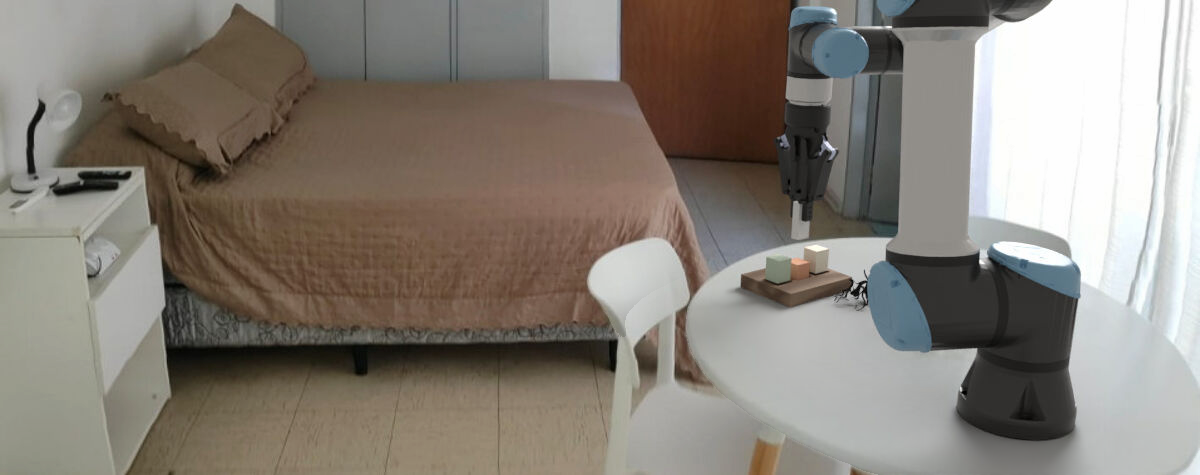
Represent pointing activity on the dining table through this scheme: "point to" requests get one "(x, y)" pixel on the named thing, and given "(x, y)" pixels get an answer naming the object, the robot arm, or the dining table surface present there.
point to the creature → (856, 291)
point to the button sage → (778, 268)
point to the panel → (796, 286)
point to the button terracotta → (799, 269)
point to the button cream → (816, 258)
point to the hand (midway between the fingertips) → (799, 237)
